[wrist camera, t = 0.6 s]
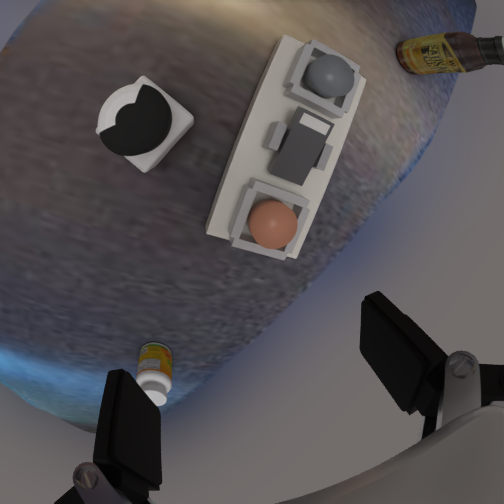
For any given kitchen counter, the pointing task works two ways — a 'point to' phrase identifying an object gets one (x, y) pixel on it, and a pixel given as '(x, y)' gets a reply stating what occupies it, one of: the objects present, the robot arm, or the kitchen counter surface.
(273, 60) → the switch panel
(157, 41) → the kitchen counter surface
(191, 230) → the kitchen counter surface
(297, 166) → the block
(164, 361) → the supplement bottle
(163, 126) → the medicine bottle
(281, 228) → the terracotta button
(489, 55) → the sauce bottle
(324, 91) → the slate button
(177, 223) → the kitchen counter surface
